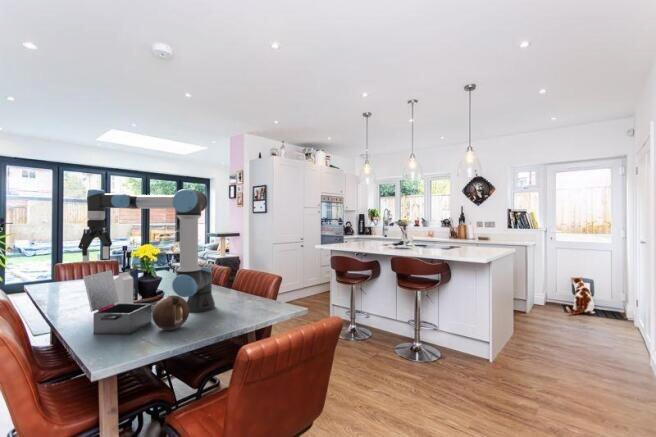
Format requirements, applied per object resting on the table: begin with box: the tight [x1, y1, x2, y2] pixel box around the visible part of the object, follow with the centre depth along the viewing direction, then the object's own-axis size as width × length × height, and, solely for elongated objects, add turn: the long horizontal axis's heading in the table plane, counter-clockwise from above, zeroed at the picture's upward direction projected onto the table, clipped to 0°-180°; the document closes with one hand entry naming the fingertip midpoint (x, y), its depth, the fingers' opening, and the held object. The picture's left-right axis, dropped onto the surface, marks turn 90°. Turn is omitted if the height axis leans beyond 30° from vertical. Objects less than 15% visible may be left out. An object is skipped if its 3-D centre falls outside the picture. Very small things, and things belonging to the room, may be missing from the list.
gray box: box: [93, 303, 152, 336], centre depth 148 cm, size 16×21×9 cm
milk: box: [113, 271, 134, 306], centre depth 168 cm, size 6×6×22 cm
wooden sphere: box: [151, 295, 190, 331], centre depth 147 cm, size 15×15×15 cm
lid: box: [83, 269, 119, 313], centre depth 149 cm, size 16×16×3 cm
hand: (96, 260), depth 169 cm, fingers open, 13 cm apart
